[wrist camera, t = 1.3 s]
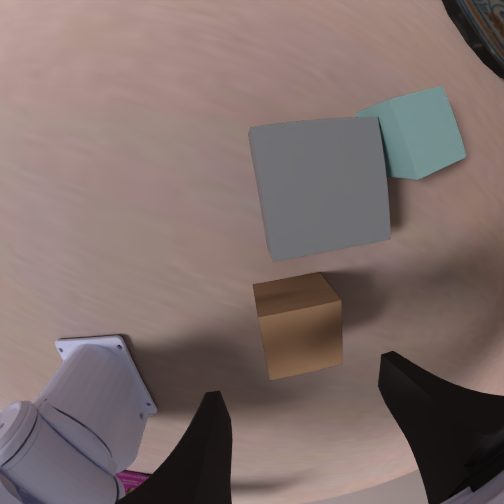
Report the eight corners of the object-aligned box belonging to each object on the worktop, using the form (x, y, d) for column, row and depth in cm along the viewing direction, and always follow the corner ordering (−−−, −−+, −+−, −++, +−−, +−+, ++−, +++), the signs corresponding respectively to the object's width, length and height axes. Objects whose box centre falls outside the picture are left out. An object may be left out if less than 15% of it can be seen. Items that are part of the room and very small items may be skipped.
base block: (371, 229, 20) (390, 239, 17) (267, 248, 20) (273, 261, 17) (358, 123, 18) (377, 116, 15) (248, 134, 18) (250, 127, 15)
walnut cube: (323, 327, 22) (342, 363, 17) (263, 339, 22) (270, 380, 17) (318, 271, 21) (341, 300, 16) (252, 284, 21) (257, 317, 16)
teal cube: (426, 156, 19) (466, 156, 14) (380, 175, 19) (418, 179, 14) (404, 98, 17) (442, 85, 13) (355, 113, 18) (388, 99, 13)
